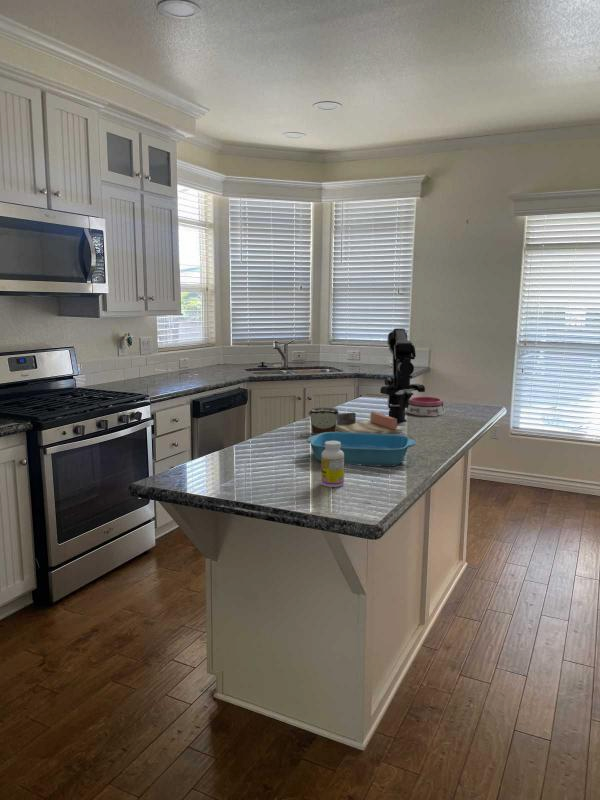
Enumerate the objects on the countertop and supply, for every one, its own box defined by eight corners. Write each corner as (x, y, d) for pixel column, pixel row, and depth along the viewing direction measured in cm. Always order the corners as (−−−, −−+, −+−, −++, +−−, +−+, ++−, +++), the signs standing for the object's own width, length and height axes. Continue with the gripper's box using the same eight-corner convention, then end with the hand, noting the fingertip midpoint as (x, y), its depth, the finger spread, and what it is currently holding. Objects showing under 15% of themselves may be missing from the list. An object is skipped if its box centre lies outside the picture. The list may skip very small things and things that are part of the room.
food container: (339, 431, 246) (339, 407, 244) (338, 434, 240) (339, 410, 238) (309, 430, 247) (309, 406, 246) (308, 433, 241) (308, 409, 240)
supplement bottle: (320, 481, 178) (320, 439, 176) (341, 480, 178) (342, 439, 176) (322, 488, 171) (322, 445, 169) (345, 487, 172) (345, 444, 170)
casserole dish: (300, 464, 198) (300, 443, 196) (315, 448, 219) (315, 429, 218) (412, 471, 188) (413, 449, 187) (416, 454, 210) (417, 434, 209)
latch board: (376, 423, 261) (376, 409, 260) (402, 432, 243) (402, 417, 242) (332, 427, 252) (332, 414, 251) (356, 437, 234) (356, 422, 233)
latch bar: (369, 421, 256) (369, 411, 256) (374, 420, 257) (374, 411, 257) (391, 429, 241) (392, 418, 240) (397, 428, 242) (397, 418, 241)
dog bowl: (444, 417, 274) (445, 403, 273) (403, 415, 279) (404, 401, 278) (445, 410, 291) (446, 396, 290) (407, 408, 296) (408, 395, 295)
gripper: (410, 369, 255) (409, 404, 258) (373, 371, 247) (372, 408, 250) (426, 372, 245) (425, 409, 248) (388, 374, 237) (387, 412, 240)
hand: (402, 409), depth 247 cm, fingers closed
